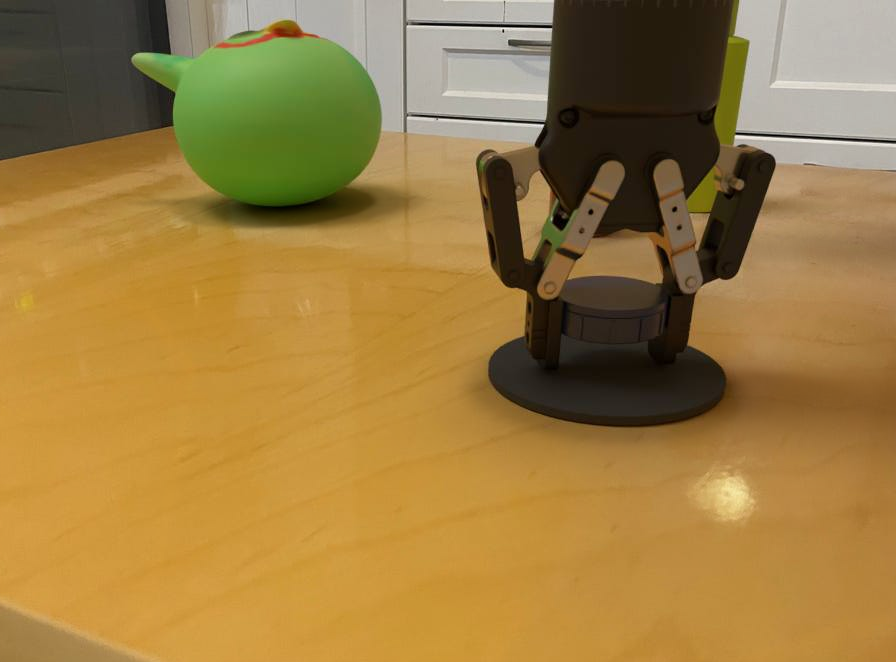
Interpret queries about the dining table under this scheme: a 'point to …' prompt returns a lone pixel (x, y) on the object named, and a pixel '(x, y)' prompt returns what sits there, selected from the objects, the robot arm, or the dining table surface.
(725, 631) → the dining table surface
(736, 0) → the soap dispenser
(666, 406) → the coaster
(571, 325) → the lid
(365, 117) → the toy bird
